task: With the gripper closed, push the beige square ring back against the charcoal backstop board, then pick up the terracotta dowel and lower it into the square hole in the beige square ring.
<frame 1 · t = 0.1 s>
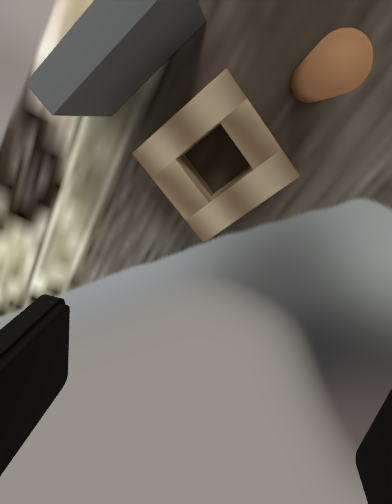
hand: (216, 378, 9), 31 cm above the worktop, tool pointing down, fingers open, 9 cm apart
backstop: (146, 59, 35), on the worktop
beige square ring: (216, 161, 35), point 3 cm above the worktop, slide at 5.0 cm
dowel: (311, 81, 33), on the worktop
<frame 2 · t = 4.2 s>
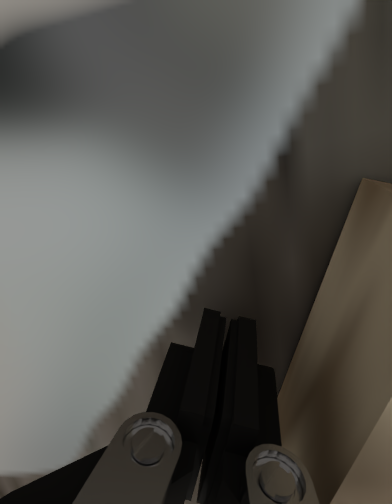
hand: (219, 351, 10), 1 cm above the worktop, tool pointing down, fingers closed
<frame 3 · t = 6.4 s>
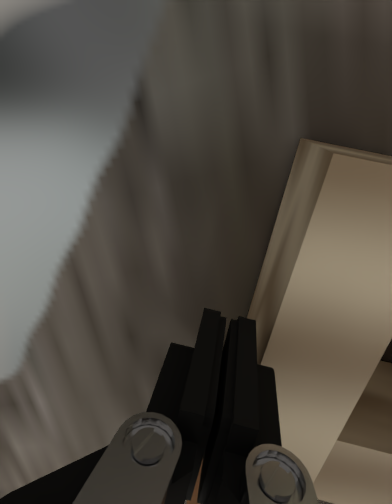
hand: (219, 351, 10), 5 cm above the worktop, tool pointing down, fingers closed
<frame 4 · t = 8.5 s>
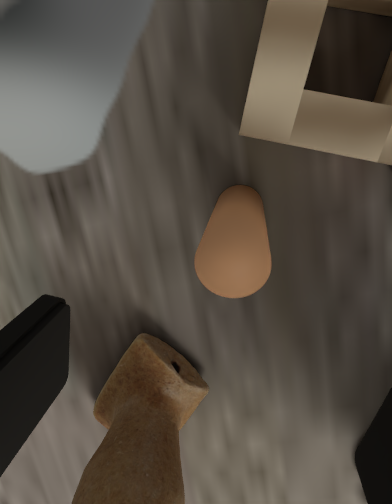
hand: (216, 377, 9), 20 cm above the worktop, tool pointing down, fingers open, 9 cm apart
brown chunky piece: (159, 390, 38), on the worktop
beige square ring: (355, 52, 20), point 3 cm above the worktop, slide at 0.0 cm
dowel: (239, 208, 28), on the worktop
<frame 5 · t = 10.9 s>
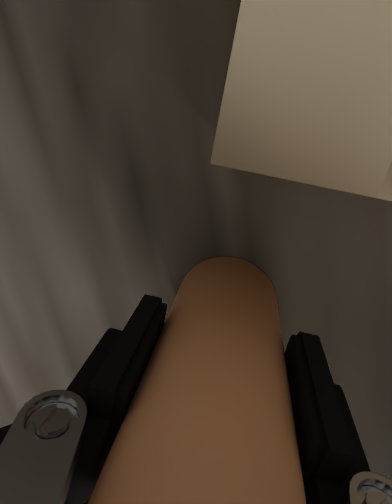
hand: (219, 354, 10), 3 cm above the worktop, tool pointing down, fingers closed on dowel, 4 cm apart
dowel: (226, 301, 13), on the worktop, touching gripper
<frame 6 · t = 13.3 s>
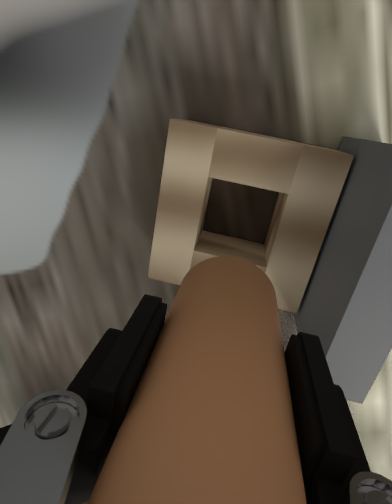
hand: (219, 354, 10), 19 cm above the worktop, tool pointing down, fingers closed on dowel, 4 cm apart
backstop: (331, 226, 27), on the worktop
beige square ring: (239, 214, 26), point 3 cm above the worktop, slide at 0.0 cm
dowel: (226, 301, 13), point 16 cm above the worktop, touching gripper
when the fingers open (6 cm above the worktop, at t = 16.0 s): dowel drops 3 cm, resting in beige square ring.
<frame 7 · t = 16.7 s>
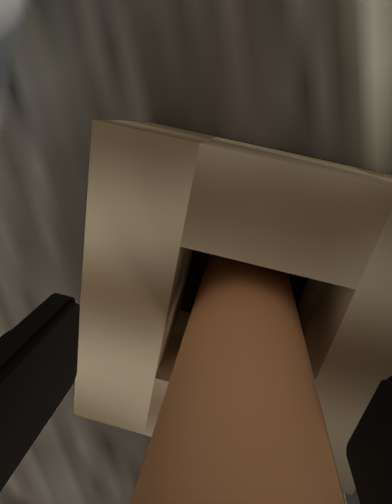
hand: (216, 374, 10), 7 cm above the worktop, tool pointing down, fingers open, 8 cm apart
beige square ring: (245, 302, 14), point 3 cm above the worktop, slide at 0.0 cm
dowel: (245, 274, 16), resting in beige square ring
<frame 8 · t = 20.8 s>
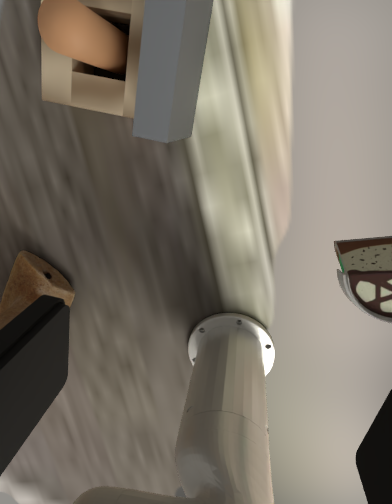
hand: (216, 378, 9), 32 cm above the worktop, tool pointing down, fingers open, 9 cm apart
food container: (373, 260, 40), on the worktop
backstop: (188, 66, 35), on the worktop
brown chunky piece: (48, 301, 50), on the worktop
beige square ring: (110, 48, 33), point 3 cm above the worktop, slide at 0.0 cm
dowel: (119, 54, 36), resting in beige square ring
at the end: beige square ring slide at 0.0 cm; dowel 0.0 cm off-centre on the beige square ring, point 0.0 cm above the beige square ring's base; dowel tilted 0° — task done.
